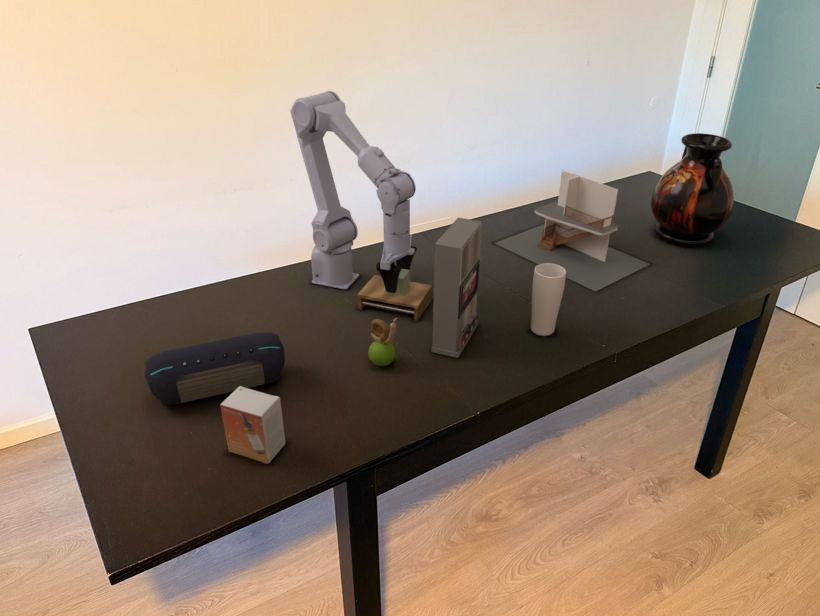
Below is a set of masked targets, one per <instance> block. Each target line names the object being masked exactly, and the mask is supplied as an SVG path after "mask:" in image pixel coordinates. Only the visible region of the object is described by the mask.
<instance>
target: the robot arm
mask: <svg viewBox="0 0 820 616" xmlns="http://www.w3.org/2000/svg"><path fill="white" fill-rule="evenodd" d="M290 115H291V119H292V123H293V126H294V129H295V133H296V139H297V141H298V145H299V149H300V153H301V157H302V159H303V163H304V166H305V170H306V173H307V178H308V180H309V184H310V188H311V191H312V195H313V198H314V201H315V202H314V203H315V205H316V209H317V212H316V214H315V216H314V217H313V219H312V221H311V227H312V240H313V243H314V245H315V246H313V249H312V251H311V255H310V260H311V261H310V262H311V272H312V273H311V274H312V280H311V284H314V285H318V286H324V287H329V288H335V289H338V290H339V289H340V290H345V291H346V290H348V289H349V288H350V287H351V285H352V284H354V282H355V281H356V280H357V279H358V278H359V277H360V274H359V273H357V272H353V271H354V270H353V269H354V268H353V253H352V252H353V251H352V247H353V246H354V241H355V240H356V239H357V238H358V234H359V231H358V230H359V229H358V226H357V223H356V222H355V221H354V219H353V217H352V214H351V211H350V210H349V209H348V208H345V207H343V206H342V205H341V202H340V198H339V194H338V191H337V188H336V187H337V186H336V184H335V179H334V176H333V172H332V168H331V165H330V161H329V157H328V153H327V150H326V146H325V145H326V144H325V143H324V136H325V135H326V133H327V132H330V133H334V135H335V136H336V137H338V138H339V140H340V141H342V143H343V144H344V145H345V146H347V148H348V149H349V150H350V151H351V152H353V154H354V155H355V156H356V157H357V166H358V167H359V169H360V170H361V171H362V172H363V174H364V175H366V177H367V178H368V179H369V180H370V181H371V183H372V184H373V185H374V186H375V188H376V196H377V198H378V200H379V202H380V208H381V211H382V220H383V223H382V224H383V225H382V226H383V247H382V257H381V259H380V260H379V261H377V263H376V264H375V269H376V270H377V273H378V274H379V276H381V277H382V279H383V282H384V285H385V289H386V292H389V293H395V292H396V290H397V284H398V277H399V274H400V271H401V269H406V270H410V271H411V266H412V261H413V259H414V256H415V254H416V253H417V252H418V251H417V250H418V248H417V246H414V245H412V244H413V235H411V224H410V223H411V198H413V197H414V195H415V194H416V190H417V189H416V183H415V180H414V178H412V176H411V174H410V173H408V172H407V171H404V170H401V169H400V168H397V167H396V166H395V165H394V163H393V162H391V160H390V159H389V158H388V157H387V156H386V155H385V152H384V151H383V150H382V149H381V148H380V147H378V146H373V145H372V146H371V145H370V144H369V143H368V141H367V140H366V138H365V137H364V136H363V135H362V133H361V132H360V131H359V129H358V128H357V127H356V125H355V123H353V120H351V118H350V117H349V116H348V114H347V108H346V103H345V102H344V101H343V100H341V98H340V96H339V95H338V94H337V93H336V92H335V91H334V90H333V91H332V90H327V91H324V92H321V93H318V94H313V95H310V96H305V97H298V98H296V99H295V100H294V102H293V104H292V106H291V109H290Z"/></svg>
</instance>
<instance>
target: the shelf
mask: <svg viewBox="0 0 820 616" xmlns="http://www.w3.org/2000/svg"><path fill="white" fill-rule="evenodd" d="M356 296H357V309H358V310H359V311H360V310H361V311H363V309H364V308H365V307H366V306H367V307H370V308H371V307H372V308H377V309H383V310H386V311H387V310H388V311H393V312H396V313H402V314H407V315H412V316H413V321H415V322H418V321H419V320H420V318H421V316H422V315H423V314H424V313H425V311H426V309H427V308H428V306H429V305H430V304H431V302H432V300H433V285H432V284H426V283H422V282H415V281H411V280H410V288H409V289H408V291H407V292H406V293H405V295H404V296H399V295H394V294H388V293H385V285H384V282H383V279H382V277H381V275H378V274H374V275H373V276H372V277H371V278H370V279H369V280H368V281H367V282H366V284H365V285H364V286H363V287H362V288H361V290H360V291H359V292H358V293H357V295H356ZM373 301H375V302H373ZM379 302H380V303H379ZM383 303H384V304H383ZM385 303H386V304H385ZM388 304H389V305H388ZM391 304H392V305H391ZM394 305H395V306H394ZM398 306H401V307H398ZM405 307H406V308H405ZM408 308H412V309H408Z"/></svg>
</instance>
